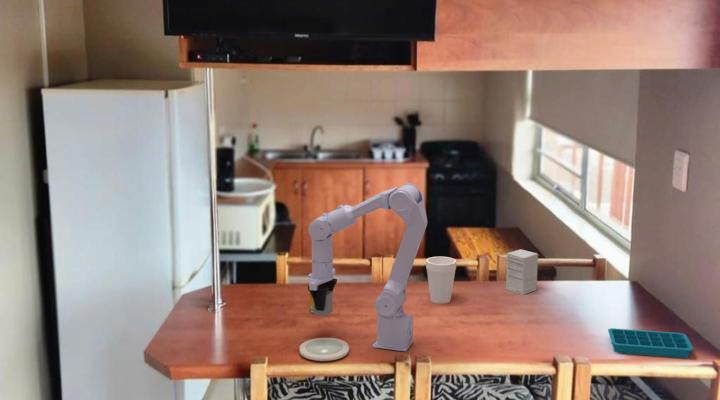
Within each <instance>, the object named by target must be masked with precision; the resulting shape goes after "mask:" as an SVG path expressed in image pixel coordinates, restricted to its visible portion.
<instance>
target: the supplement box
mask: <svg viewBox="0 0 720 400" xmlns="http://www.w3.org/2000/svg"><path fill="white" fill-rule="evenodd" d="M538 260H539V253H537V252H532V251H528V250H526V249H525V250H524V249H521V248H520V249H517V250H514V251H511V252H507V254H506V270H505V271H506V277H505V280H506V281H505V290H507V291H509V292H513V293H516V294H519V295H523V296H524V295H526V294H530V293H531V292H535V291H537V287H538V286H537V285H538V262H539V261H538Z"/></svg>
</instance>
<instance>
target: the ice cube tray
mask: <svg viewBox="0 0 720 400" xmlns="http://www.w3.org/2000/svg"><path fill="white" fill-rule="evenodd" d="M607 331H608V334H609V338H610V341H611V342H610V343H611V344H612V347H613V350H614V353H615V352H616V353H618V354H627V355H641V356H650V357H651V356H653V357H654V356H655V357H666V358H679V359H680V358H681V359H688V358H689V355H690V352H692V351H693V350H694V346H693V345H692V343H691V341H690V340H689V337H688V336H687V334H685V333H682V332H681V333H680V332H670V331H657V330H656V331H655V330H643V329H642V330H640V329H627V328H626V329H625V328H615V327H613V328H608V329H607Z"/></svg>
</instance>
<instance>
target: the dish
mask: <svg viewBox="0 0 720 400" xmlns="http://www.w3.org/2000/svg"><path fill="white" fill-rule="evenodd" d="M349 352H350V345H349V343H347V342H346V341H344V340H343V339H339V338H335V337H316V338H315V337H314V338H311V339H308V340H305V341H304V342H302V343H301V344H300V345H299V354H300V355H301V356H302V357H303V358H306V359H308V360H310V361H311V360H312V361H319V362H324V361H325V362H326V361H327V362H328V361H334V360H338V359H341V358H344V357H345V356H347V354H349Z"/></svg>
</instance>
